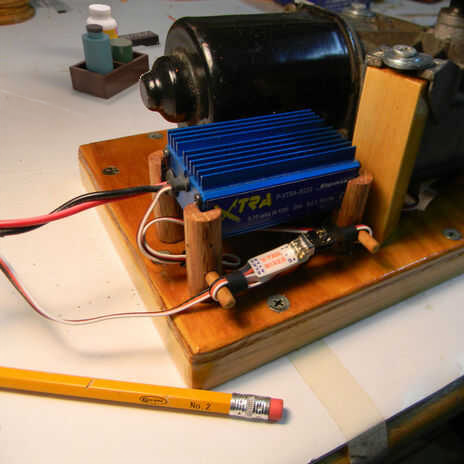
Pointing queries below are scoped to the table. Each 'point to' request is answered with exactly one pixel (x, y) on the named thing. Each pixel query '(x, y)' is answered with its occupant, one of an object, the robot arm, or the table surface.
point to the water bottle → (97, 50)
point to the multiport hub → (142, 38)
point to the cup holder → (109, 76)
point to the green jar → (121, 50)
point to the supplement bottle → (103, 19)
